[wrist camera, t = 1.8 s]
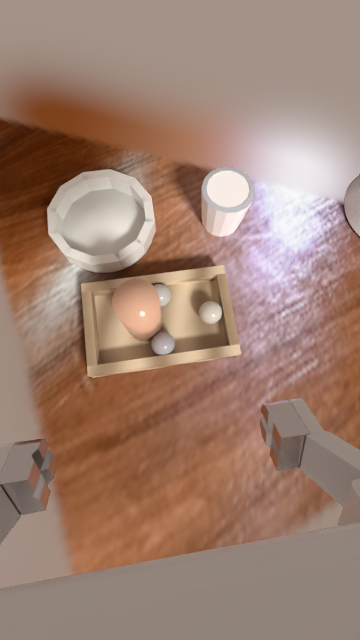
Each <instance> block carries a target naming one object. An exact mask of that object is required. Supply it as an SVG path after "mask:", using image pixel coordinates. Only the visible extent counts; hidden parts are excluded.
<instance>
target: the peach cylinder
mask: <svg viewBox="0 0 360 640" xmlns="http://www.w3.org/2000/svg"><path fill="white" fill-rule="evenodd" d="M112 306H113V310H114V312H115V313H116V315H117V316H118V318H119V319H120V321H121V322H122V323H123V325H124V326H125V328H126V329H127V331H128V332H129V333H130V335H131V336H132V337H133V338H135V339H136V340H139V341H150V340H152V339H153V337H154V336H155V335H156V334H157V333H160V332H161V330H162V327H163V320H162V313H161V306H160V300H159V295H158V292H157V290H156V288H155V287H154V286H153V285H152V284H151V283H149V282H148V281H146V280H143V279H130V280H127V281H125V282H123V283H122V284H120V285H119V286H118V287H117V289H116V290H115V292H114V294H113V298H112Z"/></svg>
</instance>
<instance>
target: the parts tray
mask: <svg viewBox="0 0 360 640" xmlns="http://www.w3.org/2000/svg"><path fill="white" fill-rule="evenodd" d="M130 279H143V280H146V281H148V282H149V283H151V284H152V285H153V286H154V285H156V284H163V285H165V286H167V287H168V288H169V290H170V292H171V299H170V301H169V303H168V304H167V305H165V306H162V307H161V313H162V320H163V327H162V330H161V332H167V333H169V334H171V335H172V336H173V338H174V340H175V347H174V350H173V351H172V352H171V353H170V354H168V355H158V354H156V353H155V352H154V351H153V349H152V346H151V342H152V340H150V341H139V340H136V339H135V338H133V337H132V336H131V335H130V333H129V332H128V331H127V329H126V328H125V326H124V325H123V323H122V322H121V321H120V319H119V318H118V316H117V315H116V313H115V312H114V310H113V306H112V298H113V294H114V292H115V290H116V289H117V287H118V286H119V285H120V284H122V283H123V282H125V281H127V280H130ZM81 292H82V305H83V318H84V332H85V345H86V358H87V372H88V376H89V377H101V376H108V375H114V374H121V373H128V372H135V371H141V370H148V369H155V368H162V367H168V366H175V365H182V364H189V363H196V362H202V361H209V360H216V359H223V358H229V357H236V356H238V355H240V354H241V350H240V345H239V340H238V334H237V329H236V324H235V319H234V314H233V309H232V304H231V299H230V294H229V289H228V284H227V279H226V274H225V269H224V265H221V266H213V267H206V268H198V269H190V270H183V271H175V272H167V273H160V274H152V275H145V276H137V277H129V278H122V279H114V280H106V281H99V282H91V283H83V284H81ZM207 301H214V302H216V303H218V304H219V305H220V306H221V309H222V316H221V318H220V320H219V321H218V322H216V323H214V324H207V323H205V322H203V321H202V320H201V318H200V316H199V309H200V307H201V305H202V304H203V303H205V302H207Z"/></svg>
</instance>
